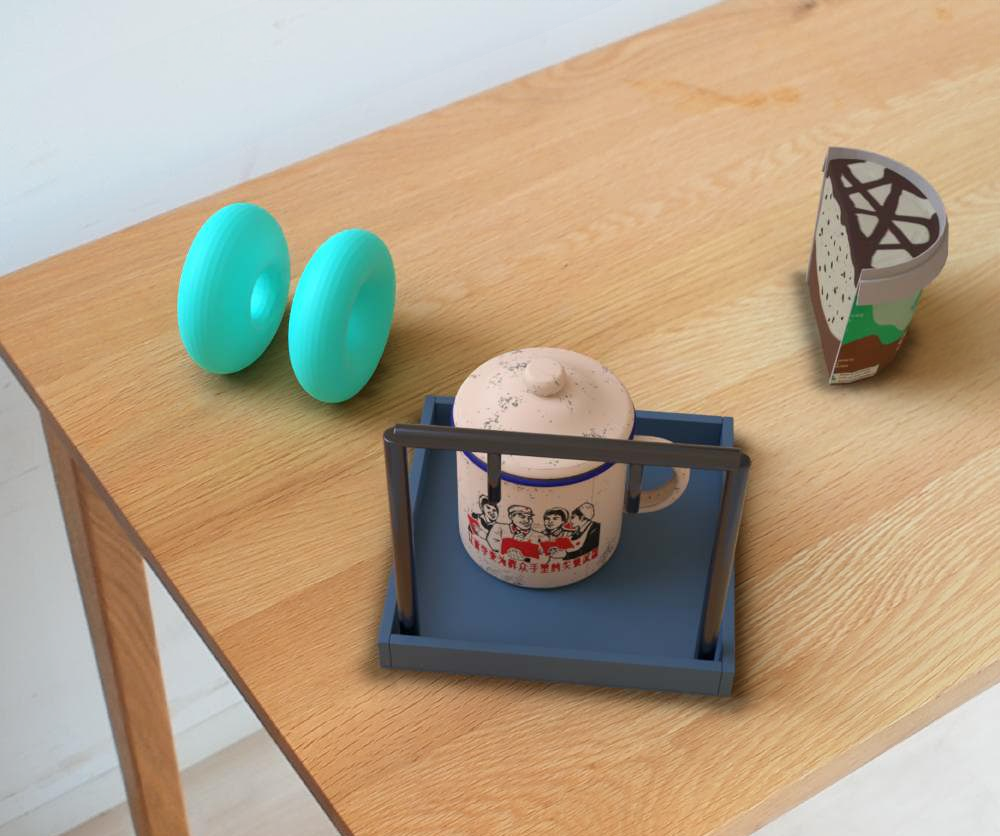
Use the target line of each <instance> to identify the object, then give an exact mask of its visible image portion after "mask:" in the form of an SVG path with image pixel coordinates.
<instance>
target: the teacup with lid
mask: <svg viewBox="0 0 1000 836" xmlns="http://www.w3.org/2000/svg"><path fill="white" fill-rule="evenodd" d="M454 397H455V399H454V402H453V405H452V409H451V427H462V428H476V429H490V430H503V431H517V432H530V433H544V434H557V435H571V436H585V437H598V438H612V439H625V440H639V441H652V442H666V443H673V442H671V441H668V440H666V439H663V438H658V437H652V436H641V435H634V434H635V430H636V412H635V410H636V408H635V404H634V402H633V400H632V397H631V394H630V392H629V391H628V389H627V387H626V385H625V384H624V383H623V382H622V380H621V379H620V378H619V377H618V376H617V374H616V373H614V372H613V370H611V369H610V368H609V367H607V366H605V365H604V364H602V363H601V362H599V361H598V360H596V359H594V358H592V357H590V356H588V355H585V354H582V353H580V352H576V351H573V350H569V349H564V348H558V347H557V348H556V347H542V346H541V347H537V346H536V347H527V348H521V349H520V348H519V349H514V350H511V351H508V352H505V353H502V354H500V355H497V356H495V357H493V358H491V359H488V360H487V361H485V362H483V363H482V364H481V365H479V366H478V367H477V368H476V369H474V370H473V371H472V372H471V373H470V374H469V375H468V376H467V377H466V379H465V380H464V381H463V382H462V384H461V386H460V387H459V388H458V390H457V393H456V395H455V396H454ZM672 468H673V469H674V471H675V473H674V475H673V476H672V477H671V479H670V480H669V481H668V482H666V483H665V484H664V485H662V486H661V487H659V488H656V489H653V490H649V491H641V497H640V506H639V511H638V513H647V512H654V511H658V510H660V509H663V508H665V507H667V506H669V505H670V504H672V503H673V502H674V501H676V500H677V499H678V498H679V497H680V496H681V494H682V493H683V492H684V490H685V488H686V486H687V484H688V481H689V475H690V468H676V467H672ZM626 473H627V464H623V463H610V462H596V461H583V460H570V459H556V458H543V457H529V456H516V455H503V454H501V501H500V502H499V503H498V504H491V503H490V502H489V501H488V493H487V453H476V452H463V451H457V479H458V511H459V531H460V536H461V539H462V542H463V545H464V547H465V549H466V550H467V552H468V554H469V555H470V556H471V558H472V559H473V560H474V561H475V562H476V563H477V564H478V565H479V566H480V567H481V568H482V569H483V570H485V571H486V572H488V573H489V574H491V575H492V576H494V577H496V578H498V579H500V580H502V581H505V582H508V583H511V584H514V585H518V586H523V587H529V588H553V587H560V586H565V585H569V584H572V583H575V582H578V581H580V580H582V579H584V578H586V577H588V576H590V575H591V574H593V573H594V572H596V571H597V570H598V569H600V568H601V567H602V566H603V565H604V564H605V563H606V562H607V561H608V559H609V558H610V557H611V555H612V554H613V552H614V551H615V549H616V546H617V544H618V541H619V538H620V532H621V524H622V514H623V513H627V512H626V510H625V506H626V495H627V491H625V483H626Z"/></svg>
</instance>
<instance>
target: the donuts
mask: <svg viewBox="0 0 1000 836" xmlns="http://www.w3.org/2000/svg"><path fill="white" fill-rule="evenodd" d="M290 286H291V258H290V250H289V245H288V242H287V238H286V236H285V234H284V231H283V229H282V227H281V226H280V224H279V223H278V220H276V218H275V217H274V216H273V215H272V213H270V212H269V211H267V210H266V209H265V208H263V207H262V206H259V205H258V204H255V203H251V202H234V203H232V204H229V205H226V206H223V207H222V208H220V209H219V210H217V211H215V213H213V214H212V215H211V216H210V217H209V218H208V219H207V220H206V221H205V222H204V223H203V224H202V226H201V227H200V229H199V230H198V232H197V234H196V236H195V237H194V239H193V241H192V244H191V245H190V247H189V250H188V253H187V255H186V258H185V261H184V263H183V267H182V271H181V275H180V280H179V285H178V292H177V293H178V295H177V307H176V308H177V310H176V311H177V312H176V313H177V324H178V330H179V335H180V339H181V342H182V344H183V347H184V349H185V351H186V352H187V355H188V356H189V357H190V359H191V360H192V361H193V362H194V363H195V364H196V365H198V367H200V368H202V369H203V370H205V371H207V372H208V373H209V372H210V373H213V374H218V375H228V374H229V375H230V374H233V373H237V372H240V371H242V370H244V369H246V368H248V367H250V366H251V365H252V364H253V363H255V362H256V361H257V360H258V359H259V358H260V357H261V356H262V355H263V354H264V352H265V351H266V350H267V348H268V347H269V346H270V344H271V342H272V341H273V339H274V337H275V336H276V334H277V332H278V330H279V327H280V325H281V323H282V321H283V318H284V314H285V312H286V308H287V304H288V300H289V299H288V298H289V294H290ZM396 292H397V279H396V270H395V265H394V261H393V257H392V254H391V252H390V250H389V248H388V247H387V244H386V243H385V242H384V241H383V240H382V239H381V237H379V236H378V235H377V234H375V233H374V232H371V231H370V230H368V229H363V228H350V229H345V230H342V231H341V230H340V231H339V232H337V233H335V234H333V235H332V236H330V237H329V238H328V239H327V240H325V241H324V242H323V243H322V244H321V245H319V247H318V248H317V249H316V251H315V252H314V253H313V255H312V256H311V257H310V259H309V261H308V263H307V264H306V266H305V268H304V270H303V272H302V273H301V276H300V278H299V281H298V283H297V286H296V289H295V292H294V296H293V300H292V303H291V308H290V312H289V313H290V314H289V322H288V351H289V359H290V364H291V367H292V371H293V373H294V375H295V377H296V380H297V382H298V384H299V385H300V386H301V387H302V388H303V390H304V391H305V392H306V393H307V394H308V395H309V396H311V397H312V398H314V399H315V400H316V401H319V402H323V403H326V404H338V403H341V402H346V401H348V400H349V399H351V398H353V397H355V396H356V395H357V394H358V393H360V392H361V391H362V390H363V388H364V387H366V385H367V384H368V383H369V381H370V379H371V378H372V376H373V375H374V373H375V372H376V369H377V368H378V365H379V363H380V360H381V358H382V356H383V354H384V351H385V348H386V345H387V343H388V339H389V336H390V332H391V328H392V323H393V318H394V312H395V306H396Z"/></svg>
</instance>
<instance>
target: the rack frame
mask: <svg viewBox="0 0 1000 836" xmlns="http://www.w3.org/2000/svg"><path fill="white" fill-rule="evenodd" d="M382 442H383V443H382V444H383V454H384V467H385V476H386V488H387V500H388V501H387V502H388V511H389V512H388V513H389V523H390V534H391V545H392V547H391V548H392V556H393V557H392V558H393V559H394V570H395V581H396V593H397V604H398V615H399V627H400V635H410V636H421V634H420V620H419V605H418V591H417V577H416V562H415V548H414V534H413V519H412V505H411V491H410V465H409V464H410V463H409V449H408V448H410V449H411V448H412V449H415V448H423V449H436V450H449V451H463V452H476V453H487V493H488V501H489V502H490V503H491V504H498V503H499V502H500V501H501V454H503V455H516V456H529V457H543V458H556V459H570V460H583V461H596V462H610V463H623V464H630V465H629V475H628V485H627V495H626V506H625V510H626V512H627V513H628V514H630V515H635V514H637V513H638V511H639V506H640V497H641V487H642V478H643V469H644V465H650V466H663V467H676V468H690V469H703V470H717V471H725V477H724V483H723V489H722V495H721V500H720V506H719V512H718V518H717V524H716V530H715V535H714V541H713V547H712V553H711V559H710V564H709V570H708V576H707V582H706V588H705V593H704V599H703V605H702V611H701V617H700V623H699V628H698V634H697V640H696V646H695V652H694V657H693V659H697V660H709V661H714V658H715V653H716V648H717V643H718V638H719V632H720V627H721V622H722V617H723V611H724V606H725V601H726V596H727V590H728V585H729V580H730V575H731V569H732V564H733V559H734V560H735V554H736V549H737V542H738V537H739V532H740V527H741V522H742V518H743V517H742V516H743V511H744V506H745V501H746V496H747V490H748V485H749V479H750V474H751V470H752V469H751V468H752V464H753V462H752V459H751V457H750V456H749V455H748V454H747V453H744V452H742V450H741V447H735V446H734V447H720V446H707V445H693V444H680V443H666V442H652V441H639V440H625V439H612V438H598V437H585V436H571V435H557V434H544V433H530V432H517V431H503V430H490V429H476V428H462V427H449V426H435V425H422V424H420V423H409V422H407V423H406V422H395V424H394V425H393V426H391V427H388V428H387V429H386V430H385V431H383V434H382Z"/></svg>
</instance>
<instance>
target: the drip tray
mask: <svg viewBox="0 0 1000 836" xmlns="http://www.w3.org/2000/svg"><path fill="white" fill-rule="evenodd" d="M455 397H456V396H449V395H448V396H447V395H435V394H434V395H433V394H425V397H424V400H423V401H424V402H423V406H422V411H421V417H420V422H419V424H422V425H435V426H449V427H451V409H452V405H453V402H454V399H455ZM635 412H636V430H635V434H634V435H641V436H652V437H658V438H663V439H666V440H668V441H671V442H673V443H680V444H693V445H707V446H720V447H734V448H735V440H734V438H735V437H734V435H735V433H734V431H735V429H734V425H735V423H734V421H735V419H734V417H733V416H722V415H713V414H712V415H711V414H696V413H684V412H683V413H682V412H671V411H670V412H668V411H657V410H642V409H635ZM412 457H413V458H412V462H411V466H410V471H409V476H410V491H411V505H412V519H413V534H414V548H415V562H416V577H417V591H418V605H419V620H420V634H421V636H410V635H400V627H399V615H398V604H397V593H396V581H395V570H394V558H393V559H392V565H391V569H390V576H389V580H388V585H387V590H386V595H385V600H384V605H383V610H382V616H381V619H380V620H381V621H380V625H379V631H378V635H377V640H376V641H377V642H376V643H377V645H376V646H377V653H378V663H379V668H381V669H392V670H402V671H403V670H404V671H415V672H427V673H438V674H451V675H461V676H474V677H486V678H497V679H506V680H507V679H509V680H521V681H531V682H532V681H533V682H542V683H543V682H544V683H553V684H554V683H555V684H556V683H557V684H567V685H579V686H590V687H603V688H613V689H623V690H624V689H626V690H627V689H628V690H637V691H647V692H650V691H651V692H661V693H671V694H673V693H674V694H682V695H685V694H686V695H697V696H706V697H707V696H708V697H718V698H730V696H731V693H732V688H733V684H734V679H735V675H736V613H735V612H736V608H735V607H736V603H735V601H736V599H735V596H736V595H735V593H736V592H735V589H736V588H735V581H736V579H735V558H734V559H733V564H732V569H731V575H730V580H729V585H728V590H727V596H726V601H725V606H724V611H723V617H722V622H721V627H720V632H719V638H718V643H717V648H716V653H715V658H714V661H709V660H697V659H693V657H694V652H695V646H696V640H697V634H698V628H699V623H700V617H701V611H702V605H703V599H704V593H705V588H706V582H707V576H708V570H709V564H710V559H711V553H712V547H713V541H714V535H715V530H716V524H717V518H718V512H719V506H720V500H721V495H722V489H723V483H724V477H725V471H717V470H703V469H690V475H689V481H688V484H687V486H686V488H685V490H684V492H683V493H682V494H681V496H680V497H679V498H678V499H677V500H676V501H674V502H673V503H672V504H670V505H669V506H667V507H665V508H663V509H660V510H658V511H654V512H647V513H637V514H635V515H630V514H628V513H623V514H622V524H621V532H620V538H619V541H618V544H617V546H616V549H615V551H614V552H613V554H612V555H611V557H610V558H609V559H608V561H607V562H606V563H605V564H604V565H603V566H602V567H601V568H600V569H598V570H597V571H596V572H594V573H593V574H591V575H590V576H588V577H586V578H584V579H582V580H580V581H578V582H575V583H572V584H569V585H565V586H560V587H553V588H529V587H523V586H518V585H514V584H511V583H508V582H505V581H502V580H500V579H498V578H496V577H494V576H492V575H491V574H489V573H488V572H486V571H485V570H483V569H482V568H481V567H480V566H479V565H478V564H477V563H476V562H475V561H474V560H473V559H472V558H471V556H470V555H469V554H468V552H467V550H466V549H465V547H464V545H463V542H462V539H461V536H460V531H459V511H458V479H457V451H449V450H436V449H423V448H414V451H413V456H412ZM629 465H630V464H627V473H626V483H625V491H627V485H628V475H629ZM674 473H675V471H674V469H673V468H672V467H663V466H650V465H644V469H643V478H642V487H641V491H649V490H653V489H656V488H659V487H661V486H662V485H664V484H665V483H666V482H668V481H669V480H670V479H671V477H672V476H673V475H674Z"/></svg>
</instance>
